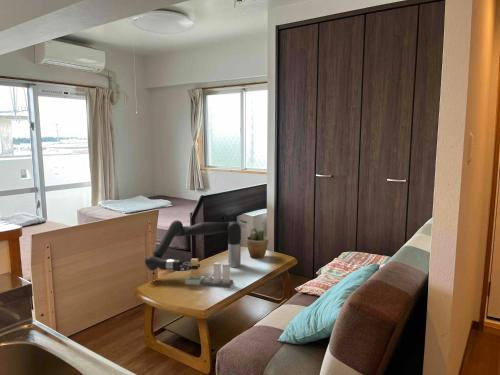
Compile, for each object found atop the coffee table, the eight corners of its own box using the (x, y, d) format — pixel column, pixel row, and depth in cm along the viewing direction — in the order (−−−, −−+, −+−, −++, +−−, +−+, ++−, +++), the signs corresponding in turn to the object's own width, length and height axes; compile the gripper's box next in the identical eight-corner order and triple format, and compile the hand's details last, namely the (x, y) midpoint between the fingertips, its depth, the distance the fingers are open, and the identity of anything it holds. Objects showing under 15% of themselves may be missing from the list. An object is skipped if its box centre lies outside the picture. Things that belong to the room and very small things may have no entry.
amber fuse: (192, 275, 252) (192, 258, 250) (198, 276, 251) (198, 258, 249) (191, 277, 248) (190, 259, 247) (196, 277, 248) (196, 260, 246)
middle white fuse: (215, 279, 249) (215, 262, 247) (221, 280, 248) (220, 262, 246) (213, 281, 245) (213, 263, 244) (219, 282, 245) (219, 264, 243)
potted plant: (241, 258, 302) (241, 227, 299) (254, 252, 317) (253, 223, 314) (260, 262, 291) (260, 230, 288) (272, 255, 307) (272, 225, 304)
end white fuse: (224, 280, 247) (223, 262, 246) (230, 281, 247) (229, 263, 245) (222, 282, 244) (222, 264, 243) (228, 282, 243) (228, 264, 242)
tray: (190, 279, 256) (190, 274, 255) (204, 280, 254) (204, 275, 253) (185, 284, 246) (185, 280, 246) (199, 285, 244) (199, 281, 244)
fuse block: (205, 280, 253) (205, 274, 253) (233, 282, 249) (233, 276, 249) (201, 285, 244) (201, 279, 244) (229, 287, 241) (229, 281, 240)
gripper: (178, 267, 259) (202, 268, 255) (170, 274, 245) (195, 276, 242) (178, 256, 258) (202, 258, 254) (169, 262, 244) (195, 264, 241)
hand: (198, 266), depth 248 cm, fingers closed on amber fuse, 3 cm apart
